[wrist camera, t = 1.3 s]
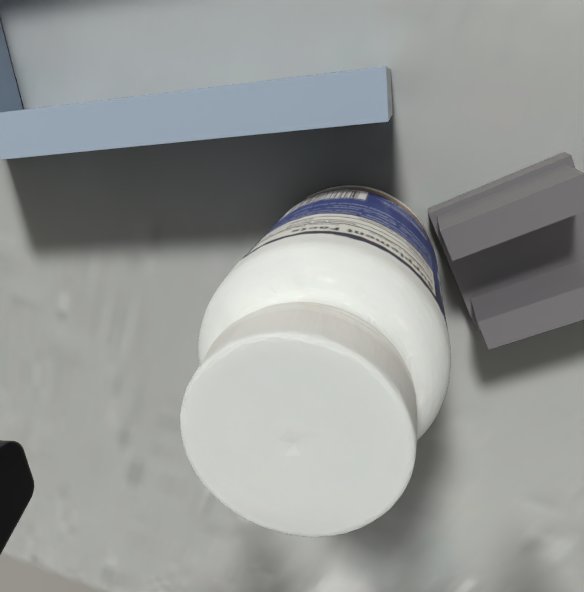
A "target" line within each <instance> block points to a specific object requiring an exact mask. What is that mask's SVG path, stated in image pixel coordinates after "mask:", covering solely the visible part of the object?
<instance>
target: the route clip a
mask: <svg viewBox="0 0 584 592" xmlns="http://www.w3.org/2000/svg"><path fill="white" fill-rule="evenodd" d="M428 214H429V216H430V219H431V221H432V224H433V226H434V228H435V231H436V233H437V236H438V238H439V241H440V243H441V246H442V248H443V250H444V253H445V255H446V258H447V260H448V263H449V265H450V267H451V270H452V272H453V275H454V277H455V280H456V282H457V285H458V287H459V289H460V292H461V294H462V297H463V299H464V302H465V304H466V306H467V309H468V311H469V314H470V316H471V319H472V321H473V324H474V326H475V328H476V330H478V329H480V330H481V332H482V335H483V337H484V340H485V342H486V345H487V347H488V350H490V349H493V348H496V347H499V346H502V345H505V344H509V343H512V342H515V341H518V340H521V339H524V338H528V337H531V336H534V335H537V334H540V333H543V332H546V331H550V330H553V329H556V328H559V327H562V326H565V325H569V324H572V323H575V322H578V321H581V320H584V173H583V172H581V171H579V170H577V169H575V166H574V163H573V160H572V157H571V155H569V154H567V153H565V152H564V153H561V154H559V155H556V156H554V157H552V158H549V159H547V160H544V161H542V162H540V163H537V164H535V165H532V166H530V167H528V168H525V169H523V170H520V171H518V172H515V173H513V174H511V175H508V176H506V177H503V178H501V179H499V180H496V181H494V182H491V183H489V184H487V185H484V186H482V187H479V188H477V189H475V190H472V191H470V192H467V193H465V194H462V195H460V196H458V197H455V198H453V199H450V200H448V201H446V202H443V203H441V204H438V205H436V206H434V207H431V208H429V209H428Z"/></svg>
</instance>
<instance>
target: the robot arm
mask: <svg viewBox="0 0 584 592" xmlns="http://www.w3.org/2000/svg"><path fill="white" fill-rule="evenodd" d="M33 491H34V480H33V477H32V474H31V471H30V468H29V465H28V462H27V458H26V455H25V452H24V449H23V447H22V446H21V445H20V444H19V443H18V442H16V441H1V440H0V554H1V553H2V551H3V549H4V547H5V545H6V543H7V542H8V540H9V538H10V536H11V534H12V532H13V531H14V529H15V527H16V525H17V523H18V521H19V520H20V518H21V516H22V514H23V512H24V510H25V508H26V507H27V505H28V503H29V501H30V499H31V497H32V494H33Z"/></svg>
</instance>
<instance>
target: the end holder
mask: <svg viewBox="0 0 584 592" xmlns="http://www.w3.org/2000/svg"><path fill="white" fill-rule="evenodd" d="M392 114H393V111H392V86H391V69H389V68H388V67H387V66H382V67H374V68H365V69H357V70H349V71H340V72H332V73H324V74H316V75H307V76H299V77H291V78H282V79H274V80H266V81H257V82H249V83H241V84H232V85H224V86H216V87H208V88H199V89H191V90H183V91H174V92H166V93H158V94H149V95H141V96H133V97H124V98H116V99H108V100H100V101H91V102H83V103H75V104H66V105H58V106H50V107H41V108H33V109H25V110H23V107H22V103H21V99H20V95H19V91H18V87H17V84H16V80H15V76H14V72H13V68H12V64H11V60H10V56H9V53H8V49H7V45H6V41H5V37H4V33H3V29H2V26H1V22H0V160H2V159H12V158H23V157H33V156H43V155H53V154H63V153H73V152H84V151H94V150H104V149H114V148H124V147H135V146H145V145H155V144H165V143H175V142H185V141H196V140H206V139H216V138H226V137H236V136H247V135H257V134H267V133H277V132H287V131H298V130H308V129H318V128H328V127H338V126H348V125H359V124H369V123H379V122H388V121H389V120H390V118H391V116H392Z"/></svg>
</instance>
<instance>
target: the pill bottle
mask: <svg viewBox="0 0 584 592" xmlns="http://www.w3.org/2000/svg"><path fill="white" fill-rule="evenodd" d="M198 353H199V364H200V366H199V368H198V369H197V371H196V372H195V374H194V375H193V377H192V379H191V381H190V382H189V384H188V386H187V389H186V392H185V395H184V398H183V402H182V406H181V414H180V426H181V435H182V440H183V445H184V449H185V451H186V454H187V457H188V459H189V461H190V463H191V465H192V467H193V469H194V471H195V473H196V474H197V476H198V477H199V479H200V480H201V481H202V483H203V484H204V485H205V487H206V488H208V489H209V491H210V492H211V493H212V494H213V495H214V496H215V497H216V498H217V499H218V500H219V501H221V502H222V503H223V504H224V505H226V506H227V507H228V508H229V509H230V510H232V511H233V512H234V513H236V514H237V515H239V516H241V517H243V518H244V519H246V520H248V521H250V522H252V523H254V524H256V525H258V526H261V527H263V528H267V529H270V530H274V531H277V532H280V533H285V534H289V535H295V536H304V537H322V536H333V535H339V534H344V533H348V532H350V531H353V530H356V529H359V528H362V527H364V526H366V525H368V524H369V523H371V522H373V521H374V520H376V519H378V518H379V517H381V516H382V515H383V514H385V513H386V512H387V511H388V510H390V508H391V507H392V506H393V505H394V504H395V503H396V502H397V500H398V499H399V498H400V497H401V495H402V494H403V492H404V490H405V489H406V487H407V485H408V483H409V481H410V479H411V476H412V472H413V469H414V464H415V458H416V451H417V440H418V439H419V438H421V436H422V435H423V434H424V433H425V432H426V431H427V429H428V428H429V427H430V425H431V424H432V422H433V421H434V419H435V418H436V416H437V414H438V412H439V410H440V408H441V406H442V404H443V401H444V398H445V395H446V392H447V388H448V383H449V378H450V367H451V347H450V340H449V334H448V328H447V323H446V318H445V313H444V305H443V296H442V291H441V284H440V279H439V274H438V267H437V261H436V256H435V252H434V248H433V245H432V242H431V239H430V236H429V234H428V233H427V231H426V229H425V227H424V225H423V224H422V222H421V221H420V219H419V218H418V217H417V216H416V215H415V214H414V212H413V211H412V210H411V209H410V208H408V207H407V206H406V205H405V204H404V203H403V202H401V201H400V200H398V199H396V198H395V197H393V196H391V195H390V194H388V193H385V192H383V191H380V190H377V189H374V188H370V187H365V186H356V185H345V186H337V187H331V188H327V189H324V190H322V191H319V192H317V193H314V194H312V195H310V196H309V197H307V198H305V199H304V200H302V201H301V202H299V203H298V204H297V205H295V206H294V207H293V208H291V209H290V210H289V211H288V212H287V213H286V214H285V215H284V216H283V217H282V218H281V219H280V220H279V221H278V222H277V223H276V224H275V226H274V227H273V228H272V229H271V230H270V231H269V232H268V233H267V234H266V235H265V236H264V237H263V238H262V239H261V240H260V241H259V242H258V243H257V244H256V245H255V246H254V247H253V248H252V250H251V251H250V252H249V253H248V254H247V255H246V256H245V257H244V258H243V259H241V260H240V261H239V262H238V263H237V264H236V265H235V266H234V267H233V269H232V270H231V271H230V273H229V274H228V275H227V277H226V278H225V279H224V280H223V282H222V283H221V284H220V286H219V287H218V289H217V290H216V292H215V293H214V295H213V297H212V299H211V301H210V303H209V305H208V306H207V309H206V312H205V315H204V317H203V321H202V325H201V329H200V335H199V347H198Z"/></svg>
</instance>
